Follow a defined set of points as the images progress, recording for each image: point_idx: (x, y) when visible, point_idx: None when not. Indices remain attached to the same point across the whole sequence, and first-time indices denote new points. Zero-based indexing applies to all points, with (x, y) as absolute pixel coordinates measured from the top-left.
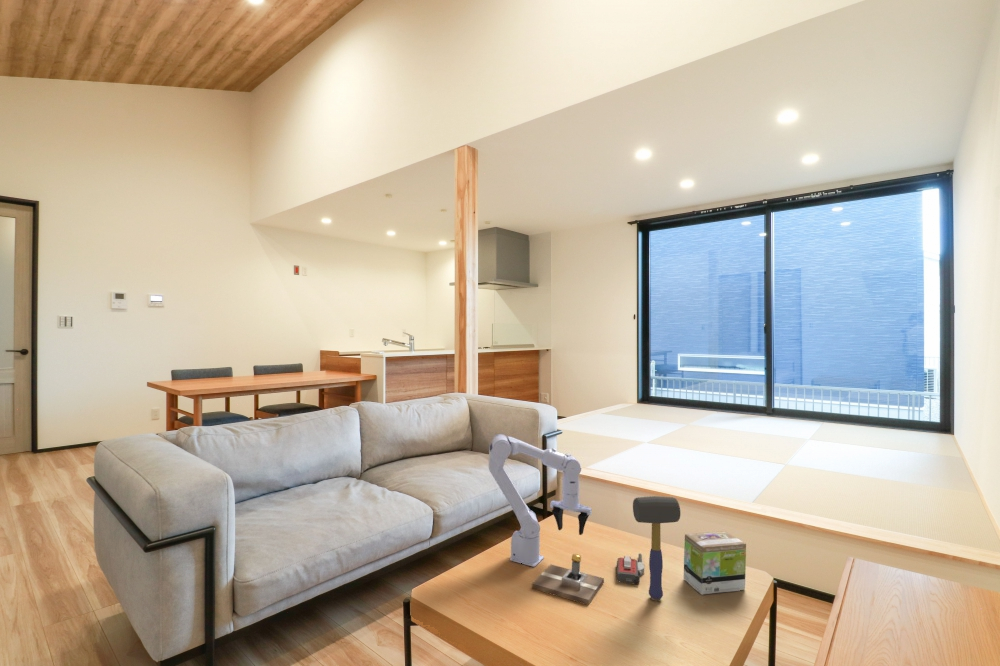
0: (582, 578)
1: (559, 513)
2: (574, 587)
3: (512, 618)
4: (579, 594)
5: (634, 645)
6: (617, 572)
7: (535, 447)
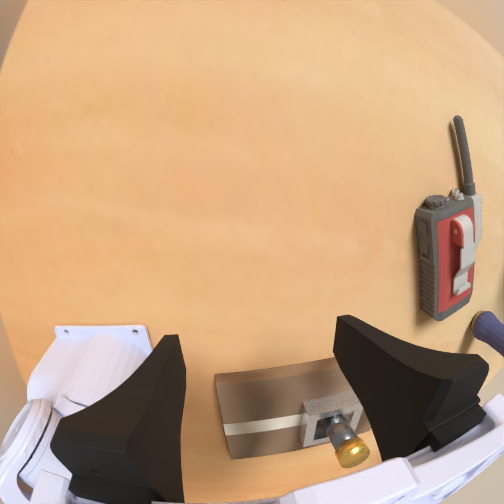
0: (355, 420)
1: (175, 481)
2: None
3: (252, 491)
4: None
5: None
6: (434, 314)
7: None
